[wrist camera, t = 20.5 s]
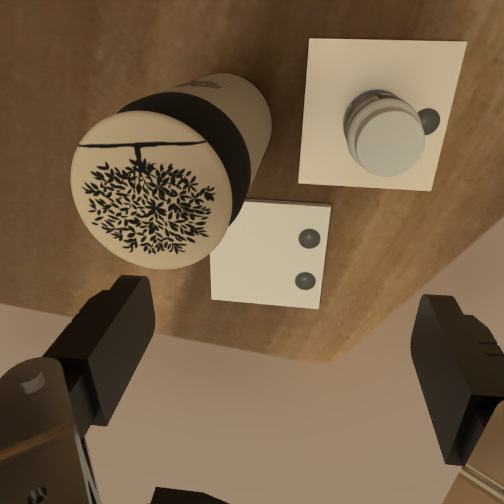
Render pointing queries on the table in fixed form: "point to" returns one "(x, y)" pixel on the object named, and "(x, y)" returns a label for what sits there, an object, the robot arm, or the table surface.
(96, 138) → the travel mug
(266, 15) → the table surface
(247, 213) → the two-dot pad
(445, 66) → the one-dot pad
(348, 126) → the pill bottle
